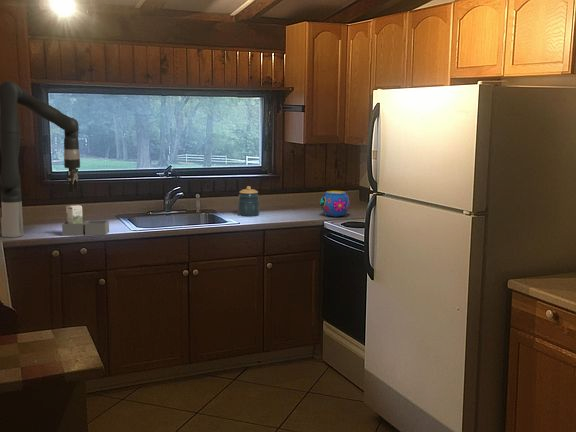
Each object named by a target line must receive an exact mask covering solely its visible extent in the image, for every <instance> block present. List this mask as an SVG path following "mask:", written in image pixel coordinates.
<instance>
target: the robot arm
mask: <svg viewBox="0 0 576 432" xmlns="http://www.w3.org/2000/svg"><path fill="white" fill-rule="evenodd" d="M18 104H19V105H21V106H23V107H25V108H27V109H29V110H31V111H32V112H34V113H35V114H36V115H38V116H39V117H41V118H43V119H44V120H46V121H48V122H50V123H53V124H54V125H55V126H57V127H59V128H60V129H62V130H63V131H64V140H63V165H64V168H65V169H68V171H66V183H67V184H68V192H69V193H70V192H71V193H72V192H74V191H75V190H78V181H79V168H81V156H80V146H79V145H80V142H79V127H80V125H79V122H78V120H77V119H76V118H74V117H70V116H69V115H67V114H65V113H63V112H62V111H60V110H59V109H57V108H56V107H54V106H53V105H51V104H48V103H46V102H45V101H42V100H41V99H38V98H37V97H35V96H33V95H32V94H31V93H28V92H27V91H26V90H25V89H23V88H22V87H21V86H20V85H18V83H16V82H14V81H11V80H10V81H9V80H6V81H5V80H4V81H3V82H1V83H0V155H1V167H0V201H1V204H0V205H1V216H2V217H0V224H1V226H0V227H1V237H4V238H18V237H22V236H24V222H23V221H24V220H23V219H24V218H23V205H22V204H23V203H22V186H21V185H22V183H21V175H20V169H19V156H20V147H21V126H20V121H19V117H18Z"/></svg>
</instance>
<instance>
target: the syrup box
mask: <svg viewBox="0 0 576 432" xmlns="http://www.w3.org/2000/svg"><path fill="white" fill-rule="evenodd" d="M65 208H66V209H65V210H66V211H65V212H66V213H65V214H66V216H65V217H66V221H67V224H82V223H83V221H84V219H83V206H82V205H80V204H74V205H73V204H72V205H66V206H65Z"/></svg>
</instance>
